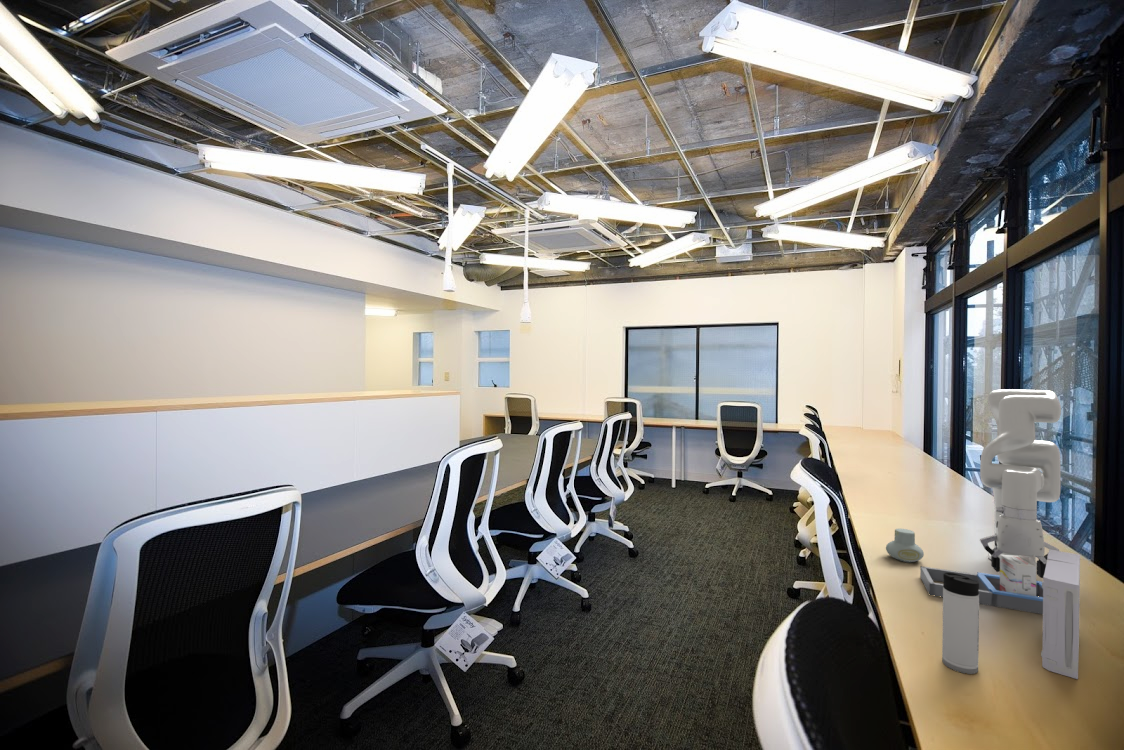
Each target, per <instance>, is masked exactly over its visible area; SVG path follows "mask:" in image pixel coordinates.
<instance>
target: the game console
mask: <svg viewBox="0 0 1124 750" xmlns="http://www.w3.org/2000/svg"><path fill="white" fill-rule="evenodd" d="M1047 554H1048V558H1047V564H1046V568H1045V573H1044V576H1043V578H1042V588H1043V614H1042V649H1041V651H1040V657H1041V658H1042V659H1041V661H1042V668H1044V669H1046V670H1047V671H1049V672H1053V673H1056V674H1059V675H1062V676H1066V677H1069V678H1072V679H1076V680H1078V679H1079V658H1080V657H1079V655H1080V653H1079V652H1080V647H1079V646H1080V605H1081V604H1080V594H1081V593H1080V592H1081V589H1080V586H1081V584H1080V582H1081V578H1080V577H1081V554H1077V553H1072V552H1068V551H1066V552H1065V551H1061V550H1059V551H1056V550H1050V549H1048V552H1047Z"/></svg>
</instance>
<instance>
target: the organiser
mask: <svg viewBox="0 0 1124 750" xmlns="http://www.w3.org/2000/svg"><path fill="white" fill-rule="evenodd" d="M919 569H920V571H919V572H920V576H919V577H920V579H921V581H922V583H923V585H924V587H925V589H926V591H927V594H928V595H929V594H930V595H935V596H934V597H936V596H941V597H940V598H942V597H943V584H944V582H943V575H944V573H955V574H959V575H963V576H966V577H969V579H972V580H974V581H977V582H979V590H978V591H979V605H985V606H990V607H998V608H1003V609H1008V610H1016V611H1020V612H1021V611H1022V612H1027V613H1033V614H1040V615H1043V588H1042V582H1043V580H1042V581H1040V580H1036V596H1031V595H1025V594H1018V593H1012V592H1005V591H1000V574H992V573H986V572H977V573H970V572H964V571H963V572H962V571H957V570H950V569H943V568H935V567H930V566H922V565H920V568H919ZM939 582H941V583H939ZM930 595H929V596H930ZM1038 596H1039V597H1038Z"/></svg>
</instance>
